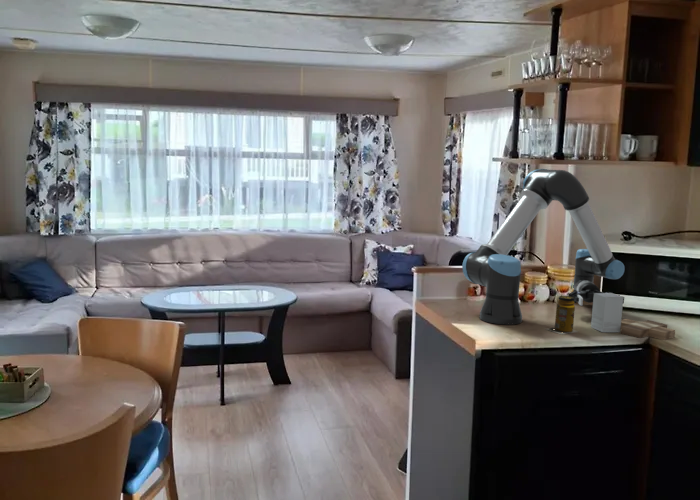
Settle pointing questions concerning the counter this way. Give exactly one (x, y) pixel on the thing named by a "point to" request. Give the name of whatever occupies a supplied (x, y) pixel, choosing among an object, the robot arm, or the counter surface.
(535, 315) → the counter surface
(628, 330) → the cross stand
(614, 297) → the supplement box
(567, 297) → the condiment
